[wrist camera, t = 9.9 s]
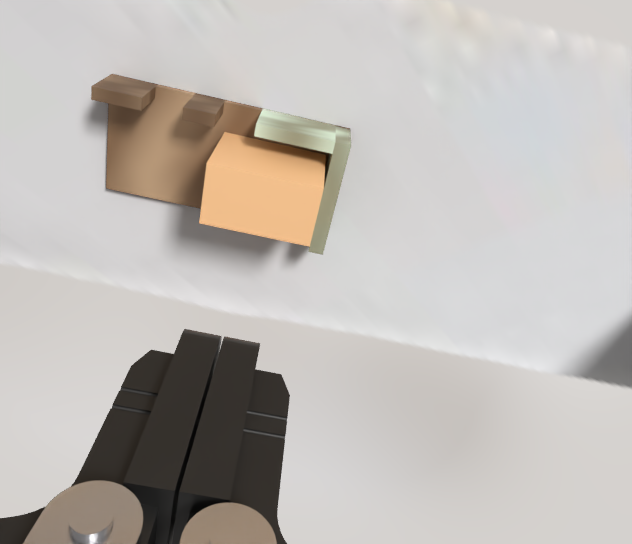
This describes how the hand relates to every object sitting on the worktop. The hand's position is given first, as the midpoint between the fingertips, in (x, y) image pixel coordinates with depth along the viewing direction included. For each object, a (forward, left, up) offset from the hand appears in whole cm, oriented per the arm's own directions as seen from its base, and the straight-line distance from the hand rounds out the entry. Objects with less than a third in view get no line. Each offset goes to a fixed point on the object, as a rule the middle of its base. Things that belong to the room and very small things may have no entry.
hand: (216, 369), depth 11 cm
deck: (+4, +7, -29) cm, 30 cm away
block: (+1, +7, -28) cm, 29 cm away
